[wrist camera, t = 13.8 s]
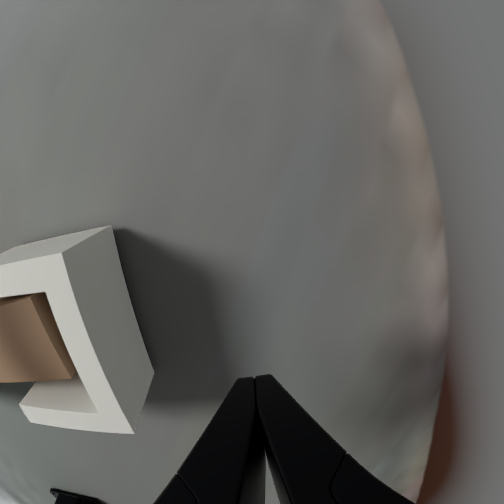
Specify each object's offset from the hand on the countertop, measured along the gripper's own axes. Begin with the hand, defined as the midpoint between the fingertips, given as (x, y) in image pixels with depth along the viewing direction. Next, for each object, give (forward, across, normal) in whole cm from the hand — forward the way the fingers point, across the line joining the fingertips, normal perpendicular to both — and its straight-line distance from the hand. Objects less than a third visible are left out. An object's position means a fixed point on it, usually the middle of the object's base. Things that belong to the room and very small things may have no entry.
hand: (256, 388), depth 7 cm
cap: (+7, +9, 0) cm, 11 cm away
